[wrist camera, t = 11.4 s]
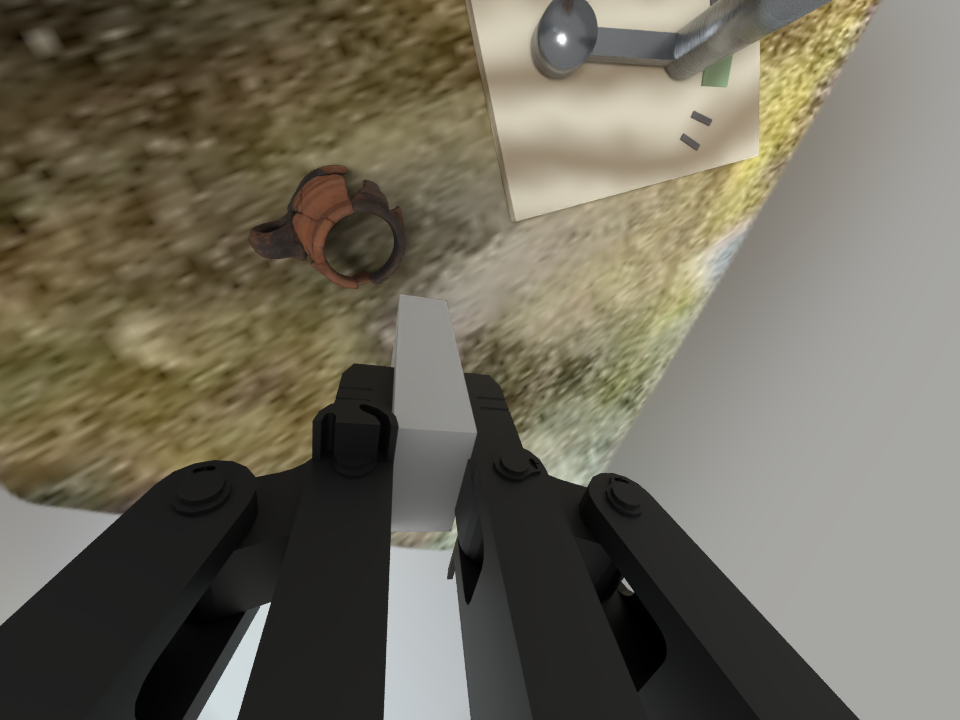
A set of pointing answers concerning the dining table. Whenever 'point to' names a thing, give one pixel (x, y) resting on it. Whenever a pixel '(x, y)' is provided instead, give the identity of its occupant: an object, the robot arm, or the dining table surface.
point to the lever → (658, 36)
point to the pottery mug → (327, 224)
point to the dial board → (607, 108)
